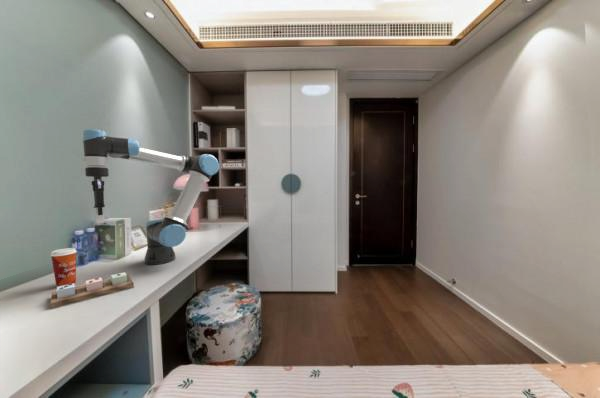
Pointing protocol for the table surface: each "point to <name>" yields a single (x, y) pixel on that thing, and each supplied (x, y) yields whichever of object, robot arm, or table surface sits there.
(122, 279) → the key one
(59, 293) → the key three
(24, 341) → the table surface
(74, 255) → the coffee cup
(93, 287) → the key two
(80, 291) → the wooden tray
